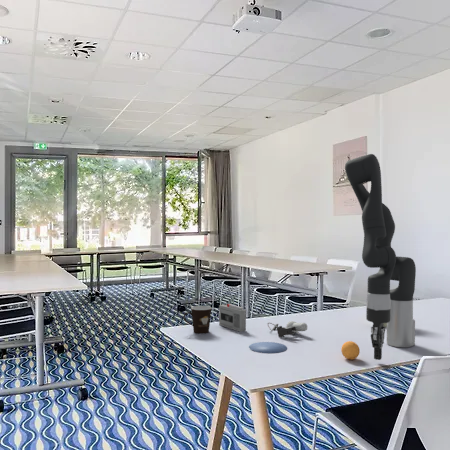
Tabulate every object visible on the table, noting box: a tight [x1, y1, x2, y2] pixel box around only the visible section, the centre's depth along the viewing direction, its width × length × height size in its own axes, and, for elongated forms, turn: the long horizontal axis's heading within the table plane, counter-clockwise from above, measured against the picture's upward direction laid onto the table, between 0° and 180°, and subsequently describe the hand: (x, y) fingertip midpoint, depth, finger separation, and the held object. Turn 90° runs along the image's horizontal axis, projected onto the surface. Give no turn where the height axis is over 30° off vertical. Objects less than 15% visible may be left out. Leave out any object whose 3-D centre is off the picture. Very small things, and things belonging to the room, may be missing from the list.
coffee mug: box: [182, 305, 212, 334], centre depth 192 cm, size 12×9×10 cm
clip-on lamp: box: [267, 320, 308, 338], centre depth 189 cm, size 12×6×18 cm
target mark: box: [248, 341, 288, 354], centre depth 168 cm, size 14×14×1 cm
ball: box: [340, 340, 361, 360], centre depth 155 cm, size 6×6×6 cm
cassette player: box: [218, 303, 247, 333], centre depth 199 cm, size 16×3×10 cm, turn 36°
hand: (377, 359), depth 151 cm, fingers closed
